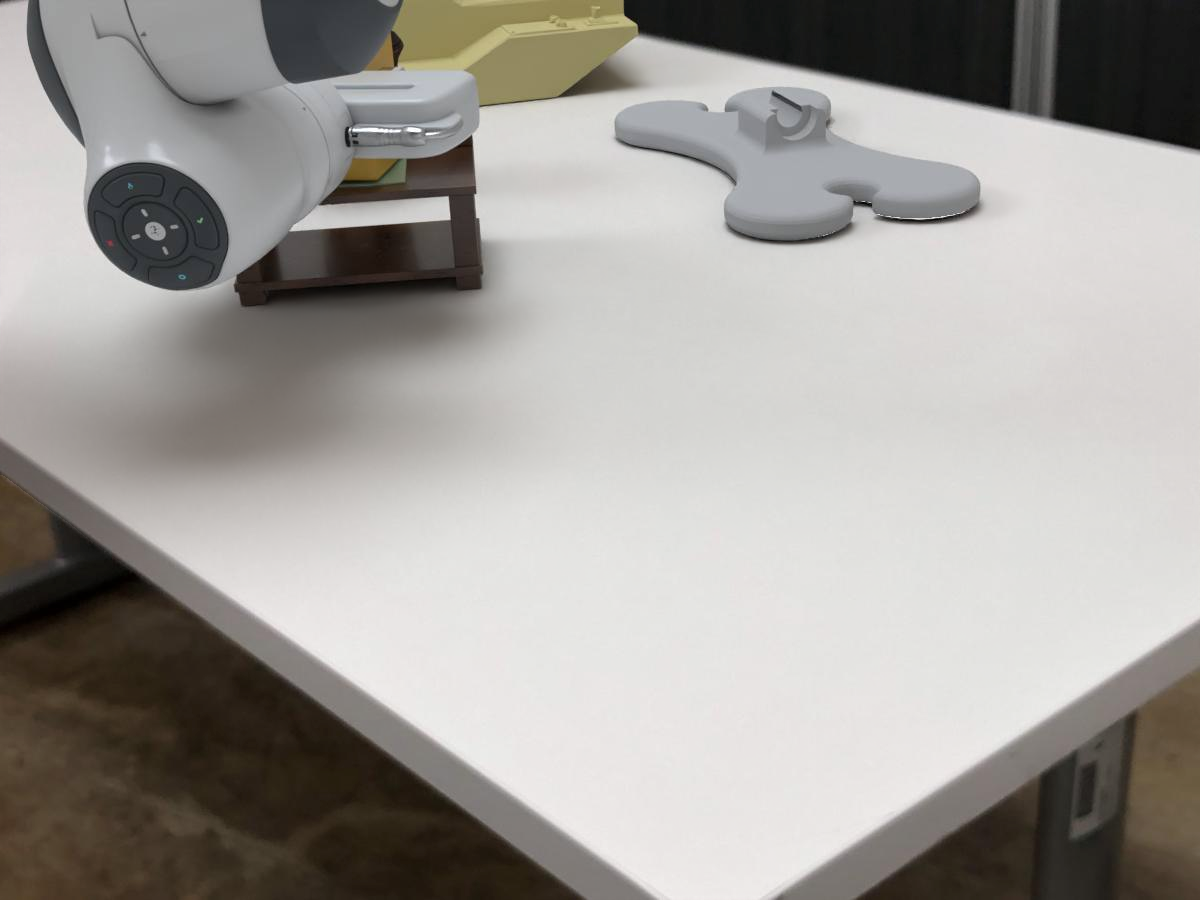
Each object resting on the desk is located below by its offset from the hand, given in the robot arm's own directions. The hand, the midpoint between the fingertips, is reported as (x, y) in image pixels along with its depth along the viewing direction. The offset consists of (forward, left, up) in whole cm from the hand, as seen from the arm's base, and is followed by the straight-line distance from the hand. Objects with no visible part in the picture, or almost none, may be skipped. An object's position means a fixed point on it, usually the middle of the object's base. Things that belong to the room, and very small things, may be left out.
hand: (347, 79), depth 101 cm
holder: (+32, +16, -13) cm, 38 cm away
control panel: (+11, +51, -13) cm, 54 cm away
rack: (0, -1, -13) cm, 13 cm away
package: (0, -1, -5) cm, 6 cm away
